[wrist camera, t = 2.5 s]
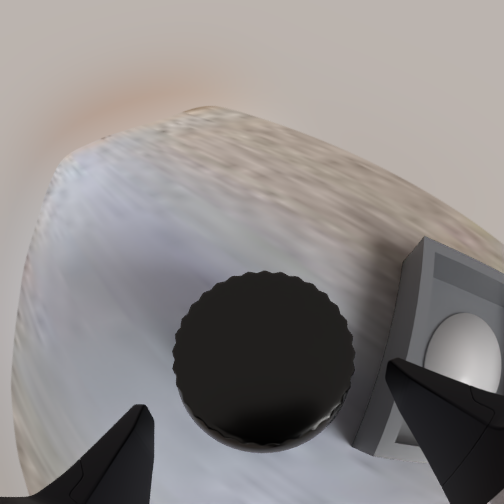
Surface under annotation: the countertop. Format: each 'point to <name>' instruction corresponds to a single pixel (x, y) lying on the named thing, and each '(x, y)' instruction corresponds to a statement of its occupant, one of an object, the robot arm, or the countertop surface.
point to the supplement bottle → (263, 362)
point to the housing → (437, 338)
